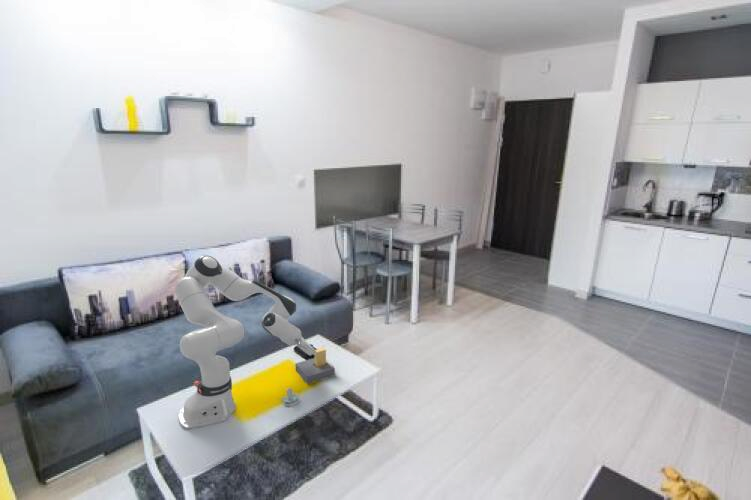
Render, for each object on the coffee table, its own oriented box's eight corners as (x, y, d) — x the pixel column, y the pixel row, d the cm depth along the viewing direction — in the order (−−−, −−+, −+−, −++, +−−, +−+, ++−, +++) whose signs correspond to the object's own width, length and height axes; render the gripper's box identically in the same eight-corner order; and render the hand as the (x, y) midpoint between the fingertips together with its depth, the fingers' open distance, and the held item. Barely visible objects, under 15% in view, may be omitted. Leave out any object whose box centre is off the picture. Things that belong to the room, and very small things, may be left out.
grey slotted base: (307, 384, 193) (307, 375, 192) (295, 370, 204) (295, 362, 203) (334, 375, 201) (334, 367, 200) (322, 362, 213) (322, 354, 211)
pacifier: (301, 403, 179) (295, 396, 184) (301, 391, 177) (295, 384, 182) (285, 408, 175) (280, 401, 180) (285, 396, 173) (280, 389, 178)
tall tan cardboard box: (316, 373, 202) (316, 352, 199) (314, 371, 204) (314, 350, 201) (325, 371, 205) (325, 349, 202) (323, 368, 207) (323, 347, 204)
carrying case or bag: (323, 355, 221) (308, 345, 231) (323, 350, 220) (308, 340, 231) (306, 361, 214) (292, 350, 224) (306, 356, 213) (292, 345, 223)
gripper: (305, 339, 184) (324, 353, 191) (288, 322, 200) (306, 335, 208) (296, 350, 182) (316, 364, 190) (279, 332, 198) (298, 345, 206)
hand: (310, 349), depth 199 cm, fingers open, 8 cm apart
